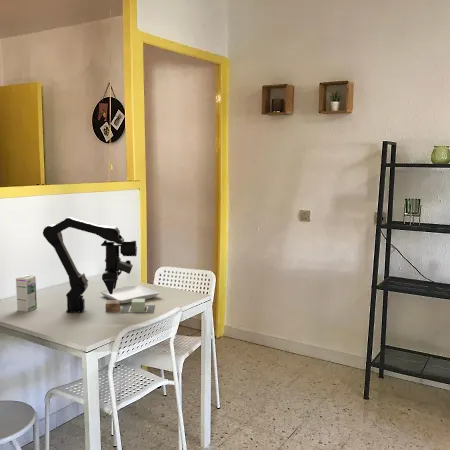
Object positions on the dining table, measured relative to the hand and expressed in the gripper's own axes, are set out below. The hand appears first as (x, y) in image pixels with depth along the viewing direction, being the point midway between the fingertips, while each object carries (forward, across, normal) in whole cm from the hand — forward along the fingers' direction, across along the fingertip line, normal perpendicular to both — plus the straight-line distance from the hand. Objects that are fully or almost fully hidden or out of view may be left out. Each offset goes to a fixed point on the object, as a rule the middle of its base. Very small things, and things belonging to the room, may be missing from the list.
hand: (112, 291), depth 210 cm
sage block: (+8, 0, -11) cm, 14 cm away
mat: (+8, 0, -11) cm, 14 cm away
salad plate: (+9, +20, -5) cm, 23 cm away
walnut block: (+9, 0, 0) cm, 9 cm away
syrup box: (+9, +2, +37) cm, 38 cm away
